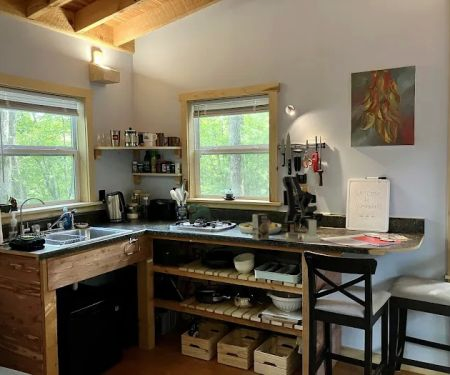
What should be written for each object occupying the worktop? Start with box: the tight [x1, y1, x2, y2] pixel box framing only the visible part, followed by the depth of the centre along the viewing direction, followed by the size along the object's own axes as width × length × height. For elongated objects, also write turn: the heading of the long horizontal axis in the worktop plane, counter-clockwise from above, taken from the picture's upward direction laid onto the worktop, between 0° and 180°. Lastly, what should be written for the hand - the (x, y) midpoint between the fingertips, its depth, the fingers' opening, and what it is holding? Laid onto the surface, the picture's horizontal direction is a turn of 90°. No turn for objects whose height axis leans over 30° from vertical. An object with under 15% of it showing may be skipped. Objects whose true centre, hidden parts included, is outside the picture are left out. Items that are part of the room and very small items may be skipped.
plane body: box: [285, 225, 301, 243], centre depth 266 cm, size 19×8×8 cm, turn 173°
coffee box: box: [252, 212, 270, 241], centre depth 267 cm, size 9×6×16 cm
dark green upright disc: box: [187, 199, 213, 224], centre depth 327 cm, size 20×6×20 cm, turn 119°
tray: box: [301, 234, 322, 243], centre depth 261 cm, size 11×11×2 cm
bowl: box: [238, 219, 282, 235], centre depth 296 cm, size 30×30×8 cm
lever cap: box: [305, 219, 317, 236], centre depth 261 cm, size 4×5×10 cm
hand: (312, 228), depth 260 cm, fingers closed on lever cap, 5 cm apart
